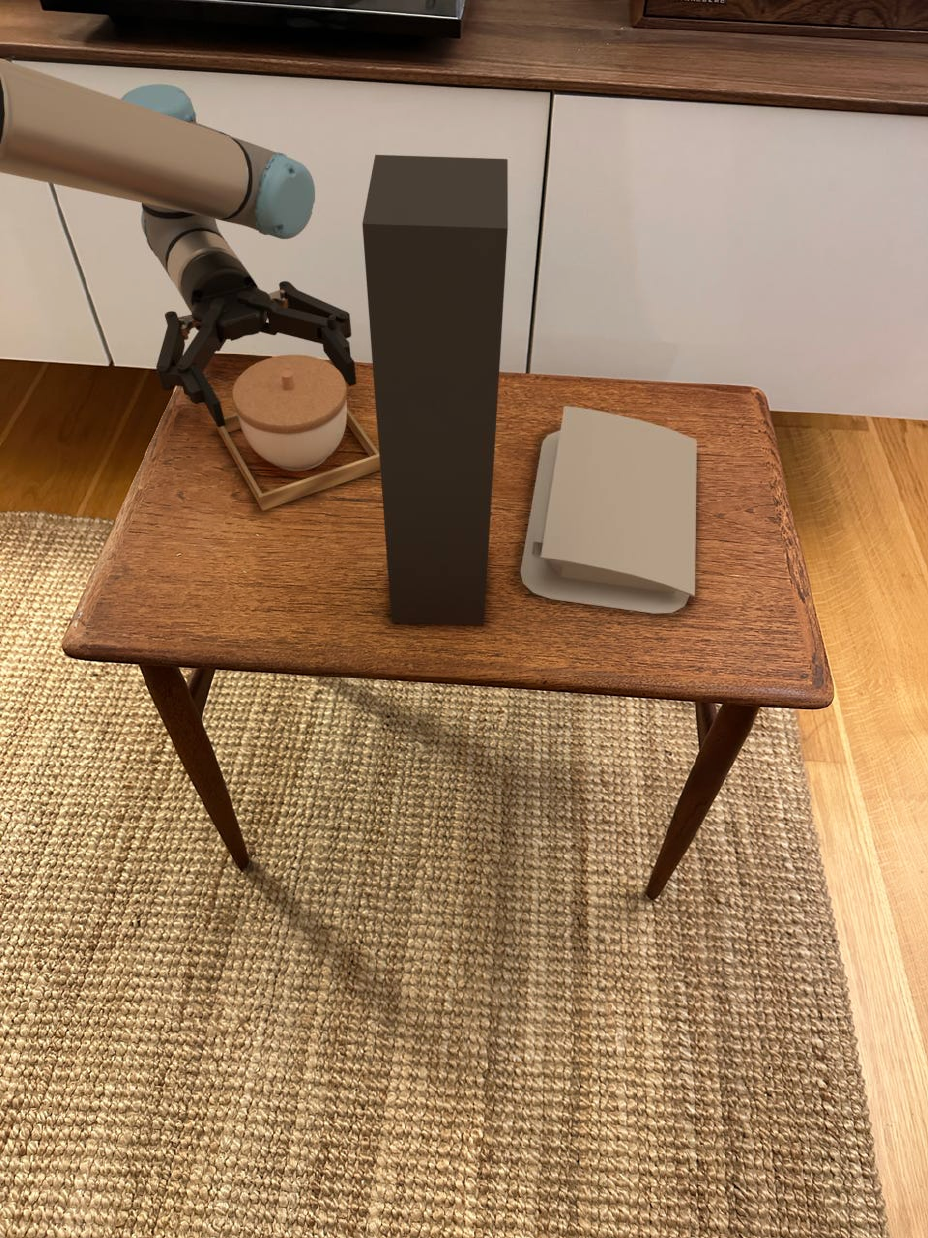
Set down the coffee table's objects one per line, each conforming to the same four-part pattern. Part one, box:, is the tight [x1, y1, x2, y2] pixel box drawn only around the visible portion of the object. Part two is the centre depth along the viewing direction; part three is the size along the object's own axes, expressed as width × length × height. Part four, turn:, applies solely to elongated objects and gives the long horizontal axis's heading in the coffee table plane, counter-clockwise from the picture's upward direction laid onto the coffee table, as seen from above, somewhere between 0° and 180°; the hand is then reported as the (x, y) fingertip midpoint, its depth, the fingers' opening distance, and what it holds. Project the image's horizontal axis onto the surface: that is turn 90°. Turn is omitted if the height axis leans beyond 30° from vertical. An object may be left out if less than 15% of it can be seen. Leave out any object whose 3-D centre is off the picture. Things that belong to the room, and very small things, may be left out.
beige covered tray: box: [519, 405, 698, 615], centre depth 85 cm, size 15×23×4 cm, turn 171°
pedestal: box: [361, 154, 509, 627], centre depth 66 cm, size 8×8×36 cm
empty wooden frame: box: [216, 407, 380, 511], centre depth 90 cm, size 13×13×2 cm
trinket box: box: [231, 354, 348, 472], centre depth 87 cm, size 11×11×9 cm
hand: (287, 394), depth 87 cm, fingers open, 13 cm apart
